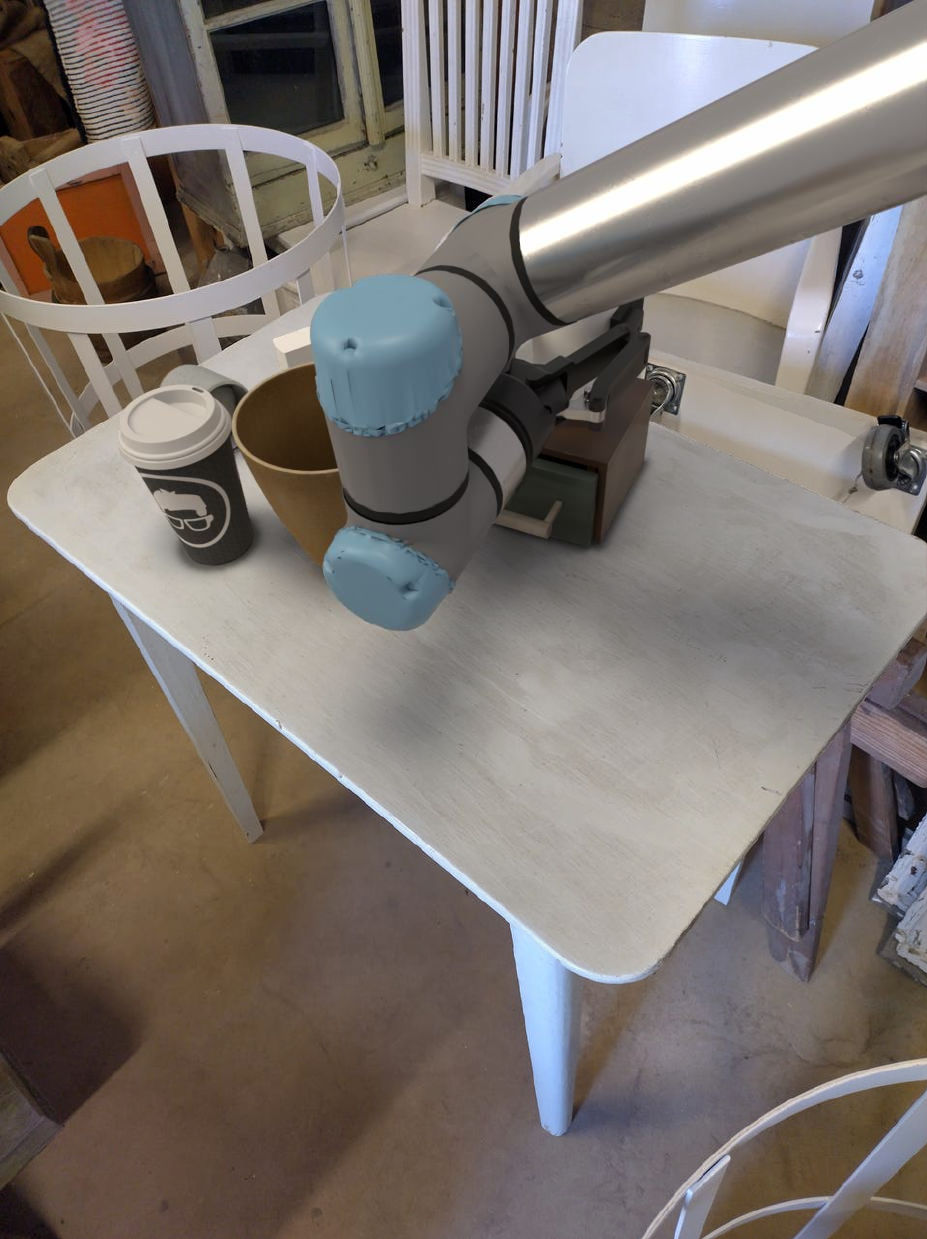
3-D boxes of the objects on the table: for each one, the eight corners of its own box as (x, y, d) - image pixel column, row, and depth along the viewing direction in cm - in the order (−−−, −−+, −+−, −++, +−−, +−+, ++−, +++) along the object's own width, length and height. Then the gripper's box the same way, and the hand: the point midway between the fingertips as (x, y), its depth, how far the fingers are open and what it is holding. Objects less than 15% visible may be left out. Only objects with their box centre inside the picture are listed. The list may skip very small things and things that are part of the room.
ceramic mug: (217, 403, 93) (195, 344, 87) (264, 429, 90) (244, 369, 84) (142, 453, 89) (113, 394, 83) (188, 482, 85) (161, 422, 79)
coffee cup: (286, 547, 78) (243, 417, 66) (193, 592, 75) (131, 465, 63) (244, 494, 83) (198, 365, 72) (156, 534, 80) (93, 407, 69)
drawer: (571, 579, 72) (575, 514, 66) (465, 546, 75) (460, 481, 69) (629, 470, 80) (638, 404, 74) (532, 445, 84) (533, 380, 78)
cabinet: (600, 544, 76) (607, 463, 68) (487, 511, 79) (482, 431, 72) (643, 462, 82) (655, 381, 75) (537, 435, 86) (538, 355, 79)
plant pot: (304, 633, 71) (257, 495, 59) (261, 527, 80) (213, 388, 68) (461, 576, 74) (447, 434, 62) (403, 480, 83) (381, 339, 71)
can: (623, 400, 70) (638, 264, 61) (544, 415, 69) (547, 280, 60) (596, 356, 74) (606, 223, 65) (522, 369, 74) (521, 237, 64)
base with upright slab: (319, 469, 85) (293, 369, 76) (286, 425, 90) (259, 326, 81) (395, 438, 87) (380, 337, 78) (360, 397, 93) (341, 298, 83)
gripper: (366, 453, 63) (492, 305, 76) (612, 523, 57) (704, 349, 69) (350, 369, 57) (489, 224, 70) (622, 436, 51) (721, 263, 63)
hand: (596, 286), depth 69 cm, fingers closed on can, 7 cm apart
